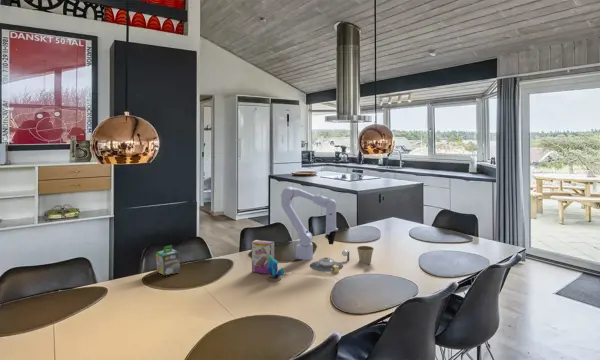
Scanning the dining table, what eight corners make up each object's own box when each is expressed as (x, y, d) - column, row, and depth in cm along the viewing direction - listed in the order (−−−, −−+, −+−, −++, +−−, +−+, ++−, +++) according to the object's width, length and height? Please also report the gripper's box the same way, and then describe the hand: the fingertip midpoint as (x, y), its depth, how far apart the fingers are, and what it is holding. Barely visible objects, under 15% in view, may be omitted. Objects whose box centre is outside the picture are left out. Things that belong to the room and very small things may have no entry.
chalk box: (172, 268, 200) (171, 242, 198) (180, 273, 193) (179, 245, 192) (156, 273, 193) (154, 245, 192) (163, 277, 187) (162, 249, 185)
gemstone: (270, 283, 178) (270, 259, 177) (264, 277, 186) (264, 254, 185) (284, 280, 181) (284, 257, 180) (278, 275, 189) (278, 252, 187)
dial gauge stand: (342, 262, 208) (342, 250, 208) (343, 260, 212) (343, 248, 211) (350, 263, 206) (350, 251, 206) (352, 261, 210) (352, 249, 209)
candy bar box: (251, 272, 193) (250, 242, 191) (255, 269, 198) (255, 239, 196) (271, 274, 189) (270, 243, 188) (275, 271, 194) (274, 241, 192)
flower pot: (373, 266, 201) (373, 250, 200) (356, 265, 203) (356, 250, 202) (373, 261, 210) (373, 246, 209) (357, 260, 212) (357, 245, 211)
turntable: (320, 276, 185) (320, 269, 185) (304, 263, 204) (304, 257, 204) (352, 271, 192) (352, 264, 191) (333, 259, 211) (333, 253, 211)
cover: (323, 269, 194) (323, 261, 194) (316, 264, 201) (316, 257, 201) (336, 266, 197) (336, 259, 197) (329, 262, 204) (329, 255, 204)
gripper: (334, 223, 200) (334, 248, 202) (341, 218, 214) (341, 241, 215) (321, 222, 203) (322, 246, 204) (329, 217, 216) (329, 240, 218)
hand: (331, 244), depth 210 cm, fingers closed
